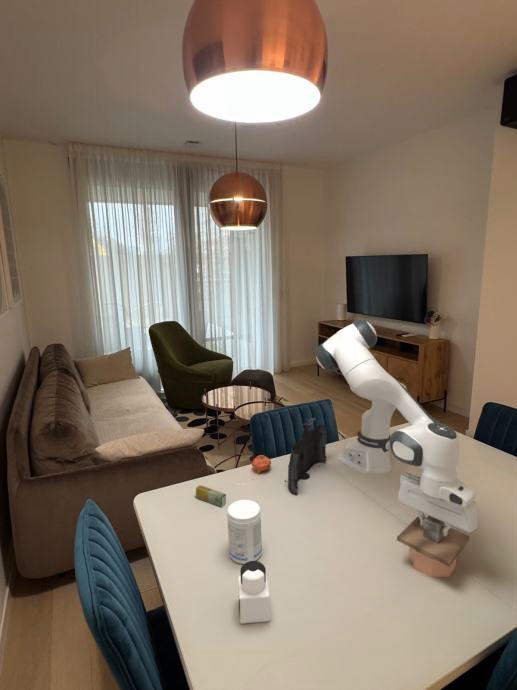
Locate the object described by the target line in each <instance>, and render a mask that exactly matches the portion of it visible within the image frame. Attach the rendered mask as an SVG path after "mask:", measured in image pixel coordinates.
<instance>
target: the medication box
mask: <svg viewBox="0 0 517 690" xmlns="http://www.w3.org/2000/svg"><path fill="white" fill-rule="evenodd" d="M195 498H196V499H199V500H202V501H204V502H206V503H209V504H212V505H214V506H216V507H219V508H220V509H221V508H223V507H224V506H225V505H226V502H227V501H226V500H227V494H226V493H224V492H221V491H218V490H215V489H212V488H209V487H207V486H204V485H202V484H201V485H197V486H196V487H195Z"/></svg>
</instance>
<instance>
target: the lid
mask: <svg viewBox="0 0 517 690" xmlns="http://www.w3.org/2000/svg"><path fill="white" fill-rule="evenodd" d="M420 524H421V520H420V518H419V516H418V515H417V517H416V518H415V519H414V520H413V521H411V522H410V523H409V524H408V525H407V526H406V527H405V528H404V530H402V531H401V532H400V533H399V534H398V535H397V536H396V541H397V542H399V543H401V544H403V545H405V546H407V547H409V548H410V547H411V548H413V549H415V550H417V551H419V552H421V553H423V554H425V555H427V556H429V557H431V558H433V559H435V560H437V561H439V562H441V563H443V564H445V565H447V566H450V565H451V564H452V562H453V561H454V560H455V558H456V559H457V557H458V556H459V555H460V553H461V552H462V551H463V549H464V548H465V547H466V545H467V544H468V542H469V541H470V535H467V534H465V533H463V532H460V531H458V530H455V529H454V528H452V527H451V528H450V529H449V530H448V535H447V536H446V537H445V536H443V535H441V534H440V529H441V528H442V527H443V526H444V527H447V526H445V522H443V521H441V520H438V519H436V518H434V517H431V516H429V515H427V516H426V519H425V520H424V527H423V526H421V525H420Z"/></svg>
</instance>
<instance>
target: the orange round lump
mask: <svg viewBox="0 0 517 690" xmlns="http://www.w3.org/2000/svg"><path fill="white" fill-rule="evenodd" d="M271 465H272V461H271V459H270V458H269V457H267V456H265V455H263V454H259V455H257V456H256V457H255V458H254V459H253V460H252V462H251V466H252V467H253V468H254V469H255V470H256V471H257V473H258V474H261V471H265V470H267V469H268V471H270V470H271Z"/></svg>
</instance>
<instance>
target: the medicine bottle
mask: <svg viewBox="0 0 517 690" xmlns="http://www.w3.org/2000/svg"><path fill="white" fill-rule="evenodd" d="M237 581H238V582H237V583H238V584H237V585H238V587H237V588H238V613H239V614H238V615H239V624H241V625H242V624H252V623H253V624H255V623H265V622H270V620H271V609H270V608H271V607H270V605H271V604H270V603H271V601H270V599H271V597H270V589H269V582H268V575H267V569H266V566H265V565H264V564H263V563H262V562H260V561H257V560H256V561H249V562H247V563H245V564H243V565H241V568H240V575H238V577H237Z"/></svg>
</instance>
